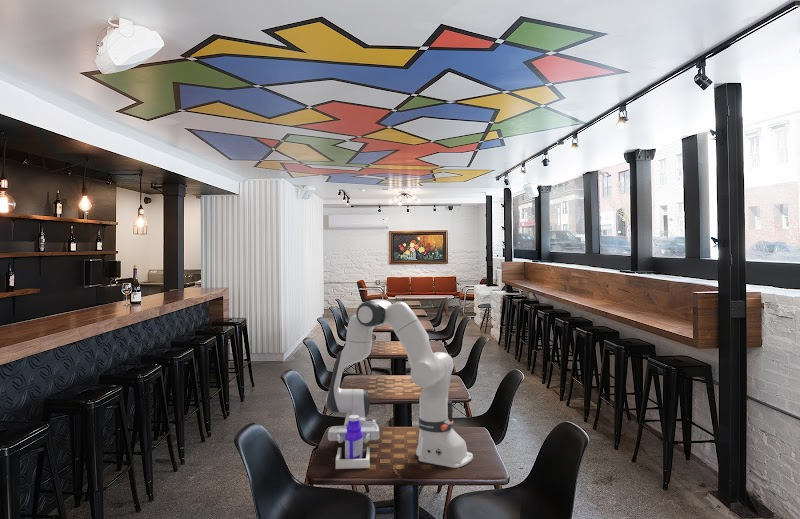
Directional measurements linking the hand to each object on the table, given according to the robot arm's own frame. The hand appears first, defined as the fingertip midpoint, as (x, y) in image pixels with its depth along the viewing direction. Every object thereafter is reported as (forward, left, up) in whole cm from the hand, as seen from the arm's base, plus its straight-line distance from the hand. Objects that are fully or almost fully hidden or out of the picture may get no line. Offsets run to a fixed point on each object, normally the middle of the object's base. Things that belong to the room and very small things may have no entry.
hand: (352, 440), depth 182 cm
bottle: (-1, 0, -8) cm, 8 cm away
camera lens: (-13, -44, -8) cm, 47 cm away
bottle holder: (0, 0, -8) cm, 8 cm away
